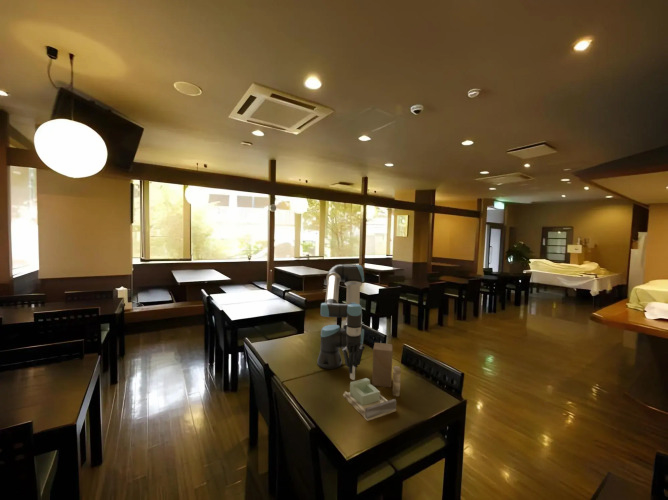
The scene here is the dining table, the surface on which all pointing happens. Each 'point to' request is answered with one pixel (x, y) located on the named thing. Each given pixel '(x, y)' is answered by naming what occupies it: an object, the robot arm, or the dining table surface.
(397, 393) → the dowel
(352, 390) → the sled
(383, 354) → the wooden block
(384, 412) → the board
